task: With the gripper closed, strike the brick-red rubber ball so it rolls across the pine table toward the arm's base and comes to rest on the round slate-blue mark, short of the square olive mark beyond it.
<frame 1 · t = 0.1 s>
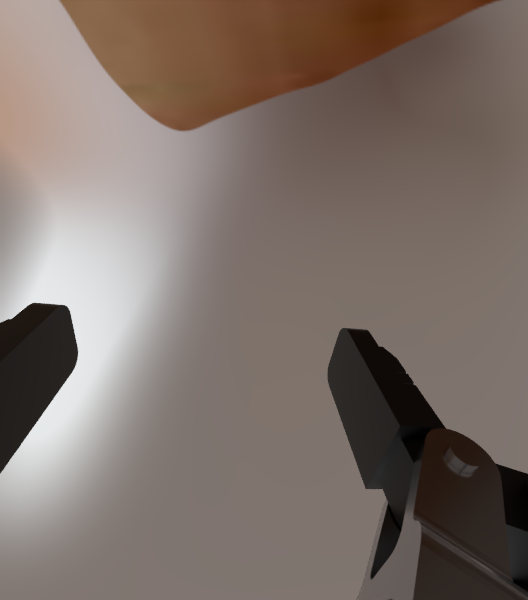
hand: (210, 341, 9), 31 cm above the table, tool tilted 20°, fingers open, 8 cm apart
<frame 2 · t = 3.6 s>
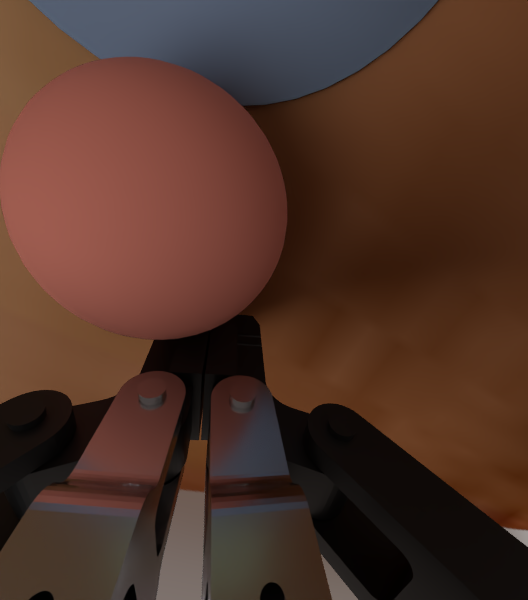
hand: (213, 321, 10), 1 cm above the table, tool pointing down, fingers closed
ball: (164, 216, 7), on the table, touching gripper
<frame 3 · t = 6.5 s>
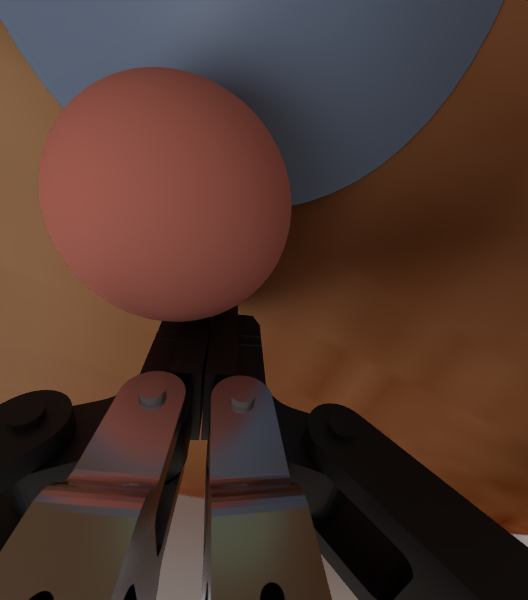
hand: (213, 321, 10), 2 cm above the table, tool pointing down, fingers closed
ball: (179, 209, 7), on the table, touching gripper
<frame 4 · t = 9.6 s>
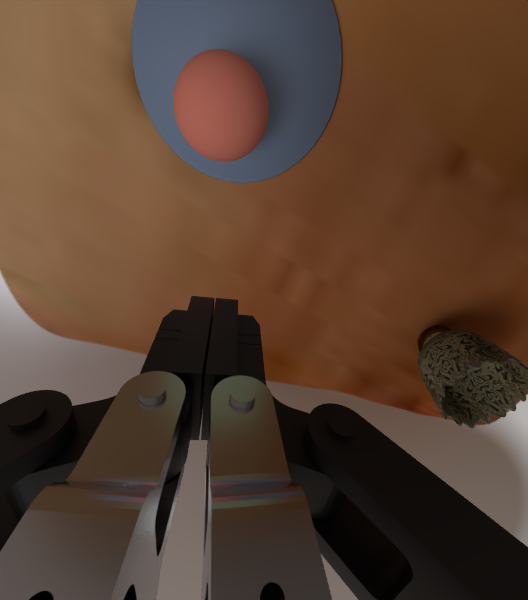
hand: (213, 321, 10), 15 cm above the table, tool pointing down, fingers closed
cup: (431, 336, 31), on the table
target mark: (239, 73, 19), on the table
ball: (221, 110, 17), on the table
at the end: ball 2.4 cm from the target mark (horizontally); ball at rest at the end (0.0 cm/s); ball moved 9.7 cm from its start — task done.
